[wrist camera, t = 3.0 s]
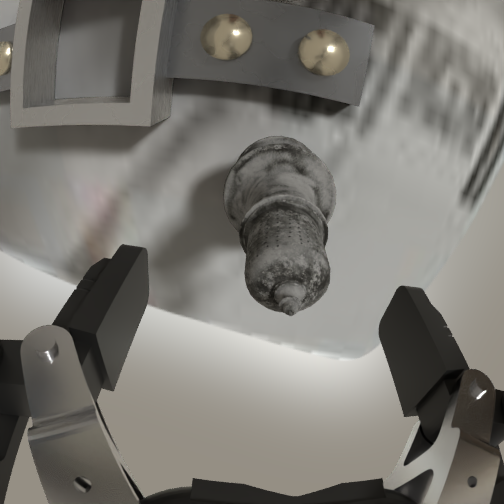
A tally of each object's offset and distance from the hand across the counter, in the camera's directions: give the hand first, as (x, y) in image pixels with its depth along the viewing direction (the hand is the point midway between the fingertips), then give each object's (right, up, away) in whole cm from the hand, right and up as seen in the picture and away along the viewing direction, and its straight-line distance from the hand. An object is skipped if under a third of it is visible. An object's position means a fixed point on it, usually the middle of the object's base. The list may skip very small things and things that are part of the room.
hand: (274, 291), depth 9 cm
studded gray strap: (-10, +14, +5) cm, 18 cm away
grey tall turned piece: (+1, +6, +10) cm, 11 cm away
